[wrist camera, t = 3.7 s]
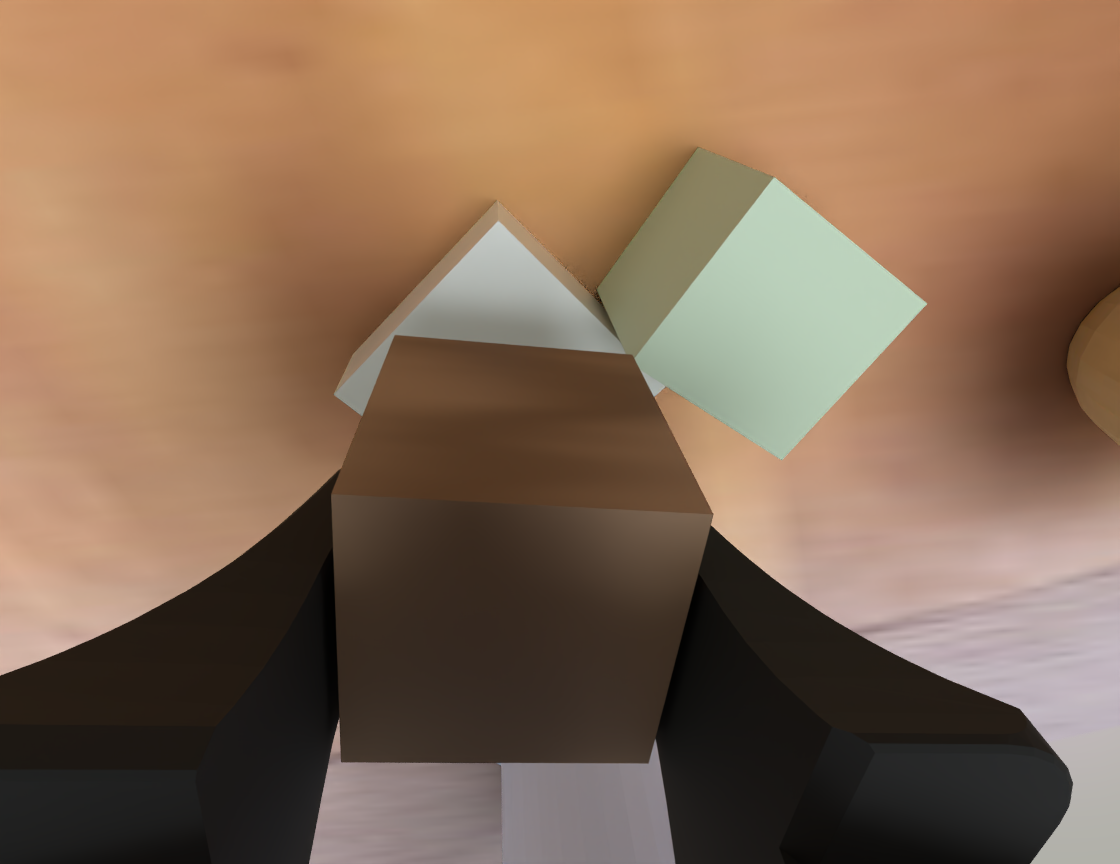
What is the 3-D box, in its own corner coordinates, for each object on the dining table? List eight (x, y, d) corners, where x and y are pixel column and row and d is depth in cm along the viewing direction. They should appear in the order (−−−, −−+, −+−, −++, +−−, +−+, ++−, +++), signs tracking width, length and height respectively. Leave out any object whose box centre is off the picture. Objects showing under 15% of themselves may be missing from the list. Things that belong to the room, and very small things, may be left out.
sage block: (818, 243, 19) (927, 303, 14) (714, 368, 21) (782, 460, 16) (697, 146, 18) (774, 177, 13) (596, 288, 19) (630, 363, 14)
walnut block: (632, 354, 13) (713, 514, 8) (599, 544, 15) (648, 763, 10) (394, 335, 13) (330, 493, 8) (392, 535, 15) (340, 762, 10)
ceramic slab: (643, 345, 20) (665, 386, 18) (504, 470, 22) (506, 525, 19) (497, 197, 18) (498, 220, 15) (354, 350, 20) (333, 394, 17)
